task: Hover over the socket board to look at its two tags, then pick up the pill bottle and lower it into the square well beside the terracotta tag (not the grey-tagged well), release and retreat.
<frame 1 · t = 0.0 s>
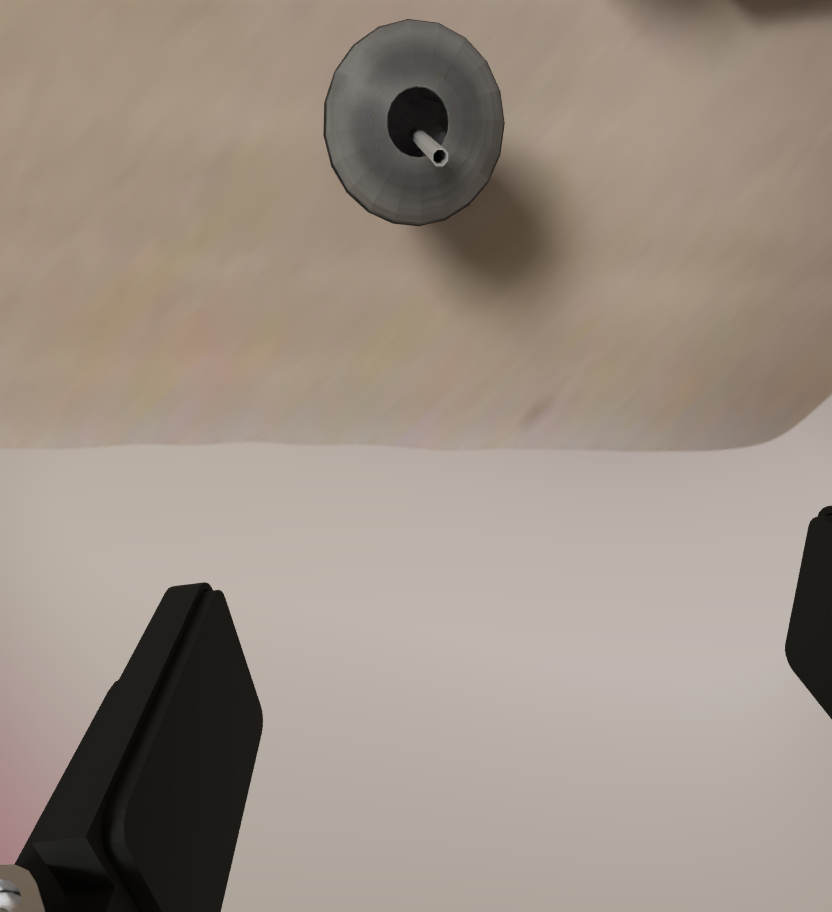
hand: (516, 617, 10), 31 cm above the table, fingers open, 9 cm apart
beverage cup: (407, 141, 34), on the table
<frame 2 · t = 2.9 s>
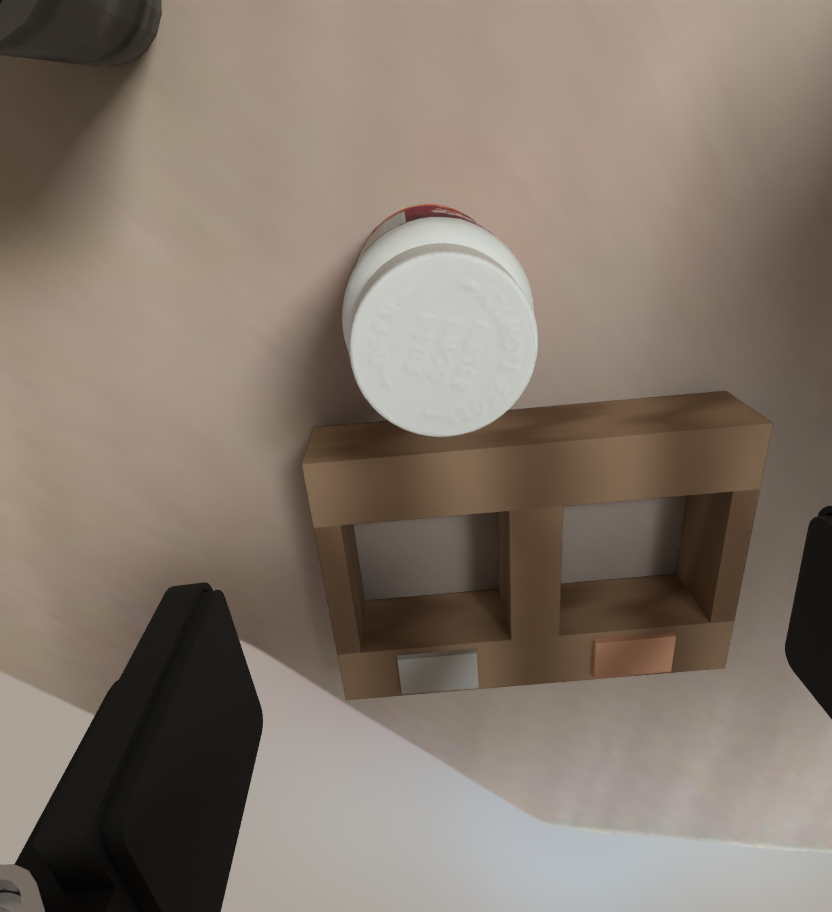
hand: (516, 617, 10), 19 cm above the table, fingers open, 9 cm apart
socket board: (519, 530, 32), on the table
pill bottle: (426, 278, 26), on the table
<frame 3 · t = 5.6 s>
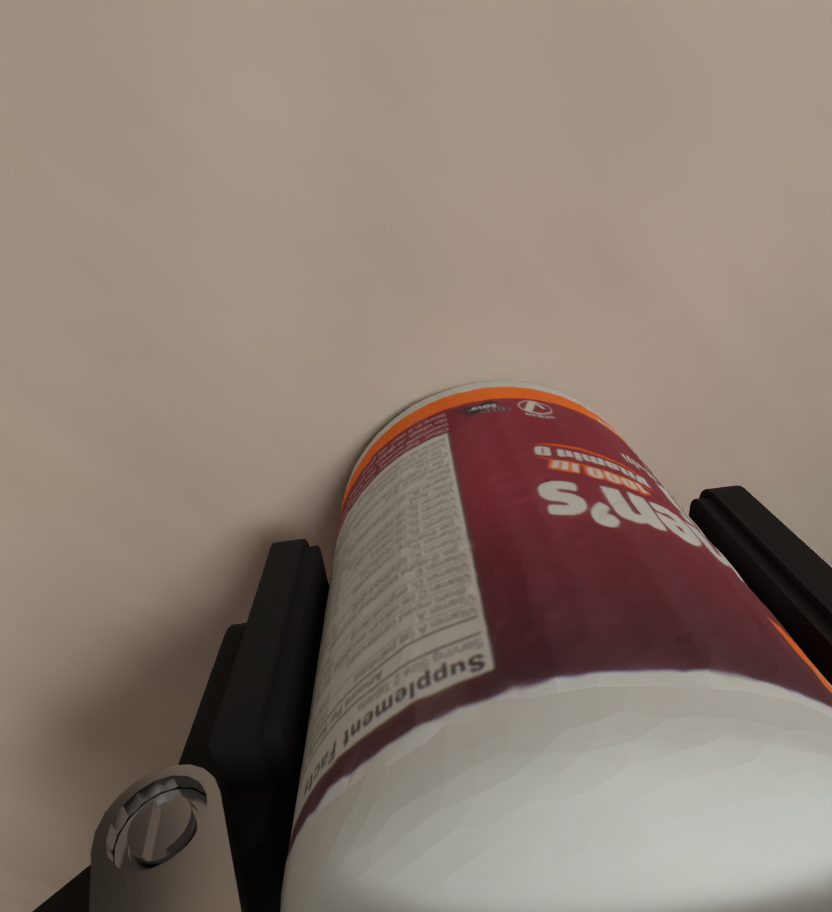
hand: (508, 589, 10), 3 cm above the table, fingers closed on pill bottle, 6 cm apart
pill bottle: (484, 506, 13), on the table, touching gripper
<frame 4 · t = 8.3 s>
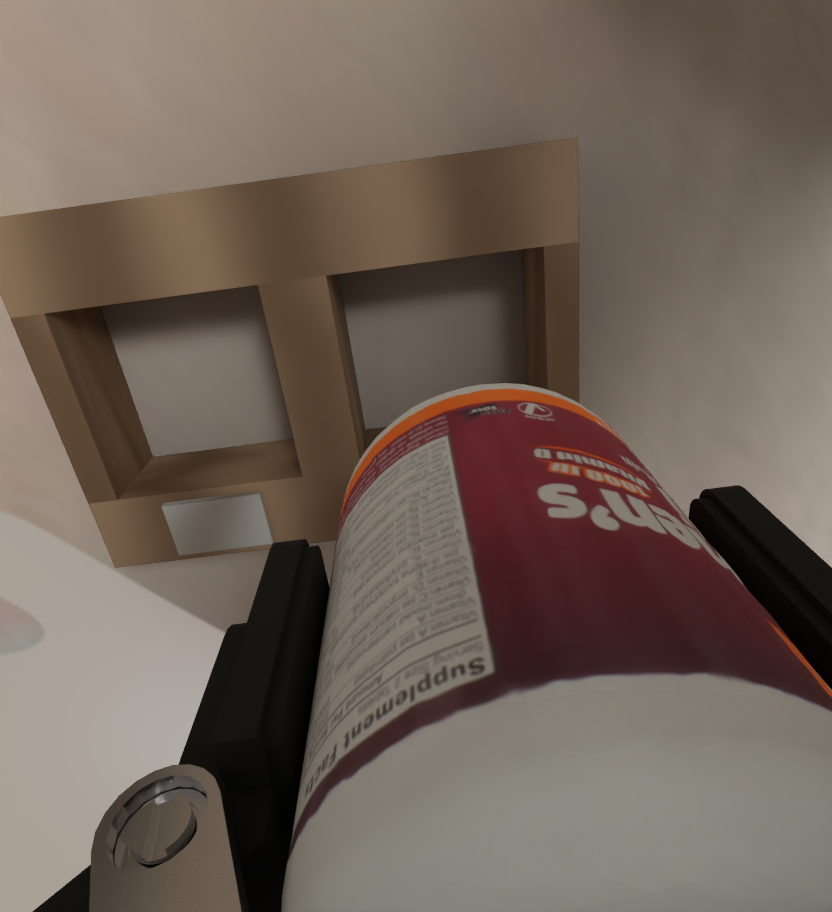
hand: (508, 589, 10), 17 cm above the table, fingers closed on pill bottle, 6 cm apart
socket board: (324, 353, 26), on the table
pill bottle: (484, 507, 13), point 14 cm above the table, touching gripper
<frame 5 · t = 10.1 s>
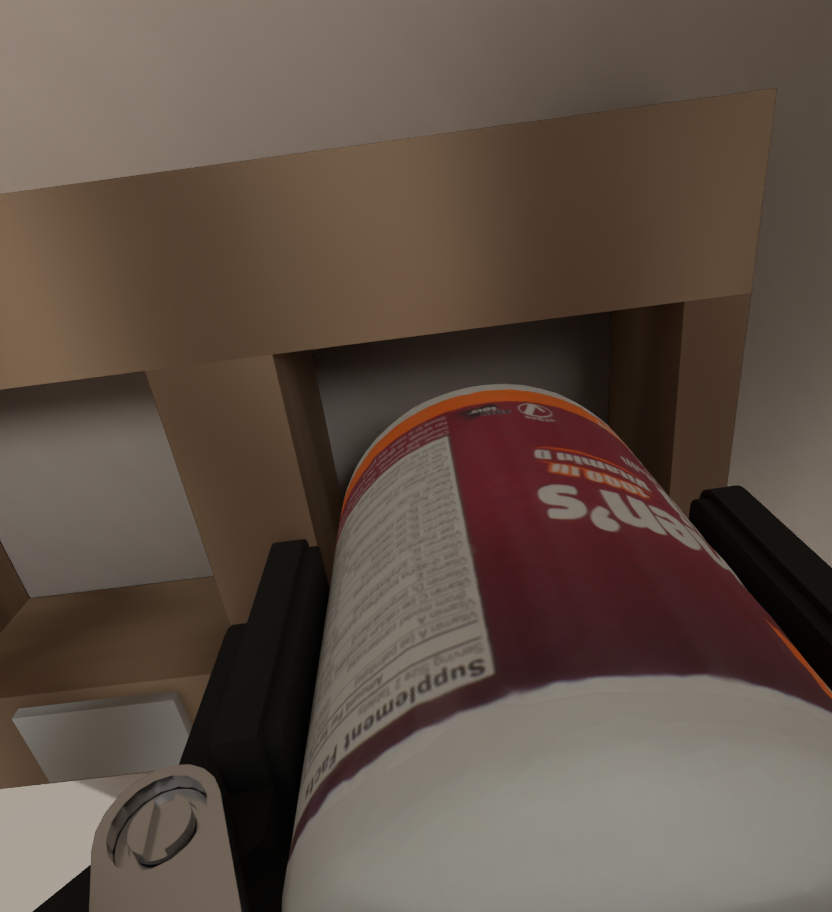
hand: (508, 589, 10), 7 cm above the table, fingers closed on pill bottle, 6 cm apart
socket board: (287, 451, 16), on the table
pill bottle: (484, 508, 13), point 4 cm above the table, touching gripper
when the fingers open (5 cm above the table, at t = 11.4 s): pill bottle drops 2 cm, resting in socket board.
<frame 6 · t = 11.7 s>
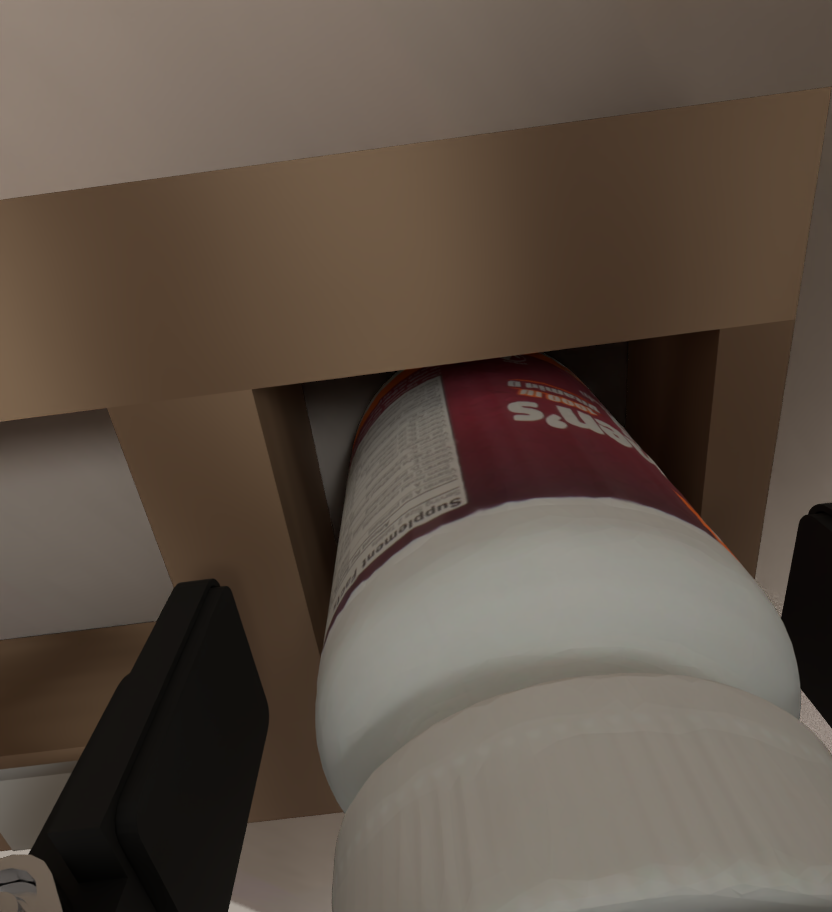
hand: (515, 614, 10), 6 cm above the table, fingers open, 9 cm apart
socket board: (274, 484, 15), on the table
pill bottle: (473, 451, 15), resting in socket board
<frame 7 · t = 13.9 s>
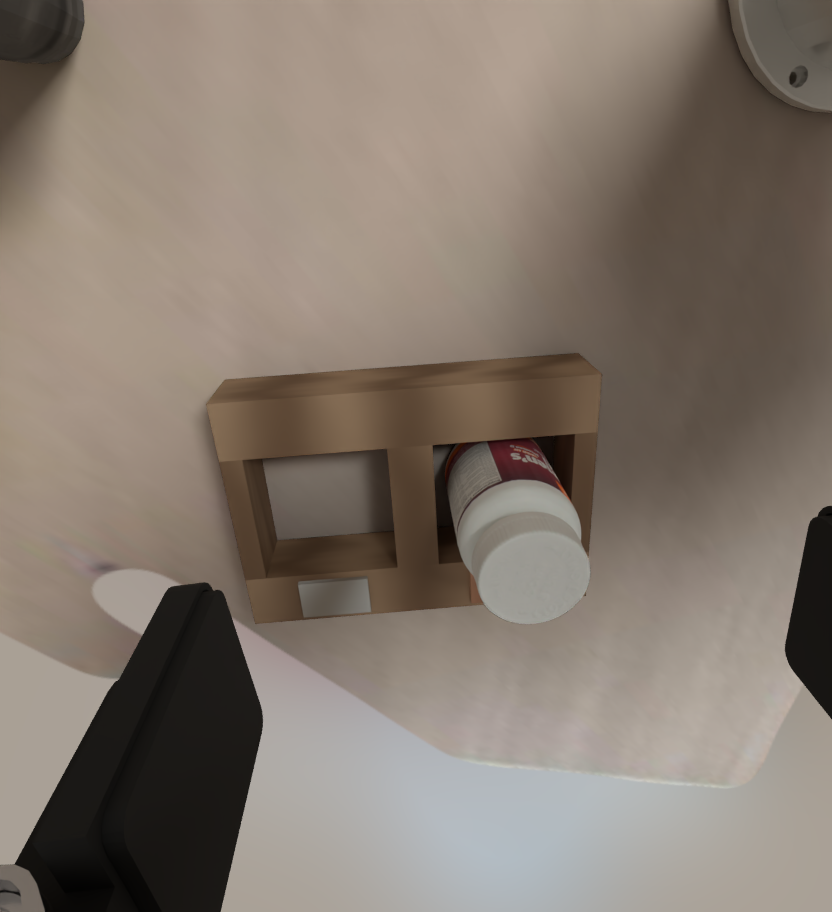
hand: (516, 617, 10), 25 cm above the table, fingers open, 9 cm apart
beverage cup: (32, 3, 26), on the table
socket board: (410, 476, 37), on the table
pill bottle: (492, 466, 37), resting in socket board
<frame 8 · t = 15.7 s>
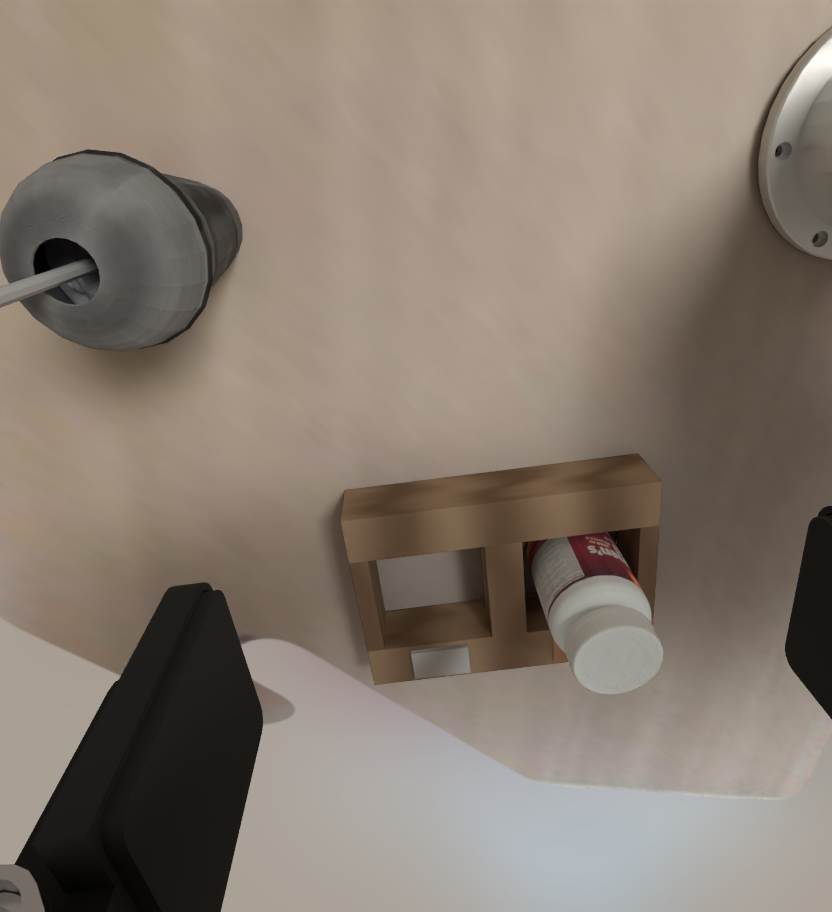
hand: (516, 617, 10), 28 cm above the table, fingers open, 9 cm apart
beverage cup: (202, 227, 33), on the table
socket board: (497, 556, 44), on the table
pill bottle: (565, 544, 44), resting in socket board
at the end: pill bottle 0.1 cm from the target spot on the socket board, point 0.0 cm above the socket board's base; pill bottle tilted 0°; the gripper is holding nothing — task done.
